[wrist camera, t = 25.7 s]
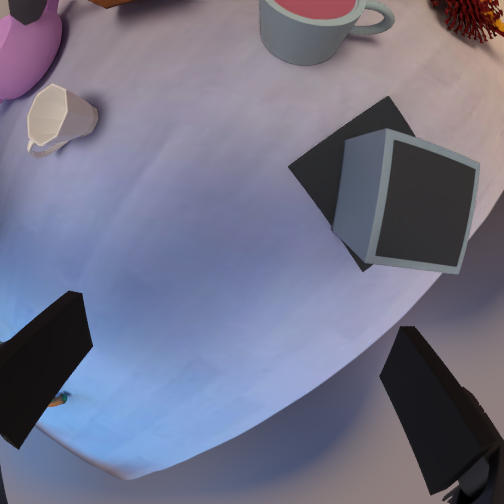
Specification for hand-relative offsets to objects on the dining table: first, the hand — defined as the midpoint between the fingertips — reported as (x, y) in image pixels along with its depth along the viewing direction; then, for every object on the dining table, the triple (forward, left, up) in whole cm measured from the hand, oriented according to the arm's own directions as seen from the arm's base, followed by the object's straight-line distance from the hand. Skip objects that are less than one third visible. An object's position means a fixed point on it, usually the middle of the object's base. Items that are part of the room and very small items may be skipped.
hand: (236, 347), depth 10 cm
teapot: (-44, -9, -22) cm, 50 cm away
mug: (-13, +20, -22) cm, 33 cm away
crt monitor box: (+5, +14, -15) cm, 21 cm away
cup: (-24, -9, -22) cm, 34 cm away
